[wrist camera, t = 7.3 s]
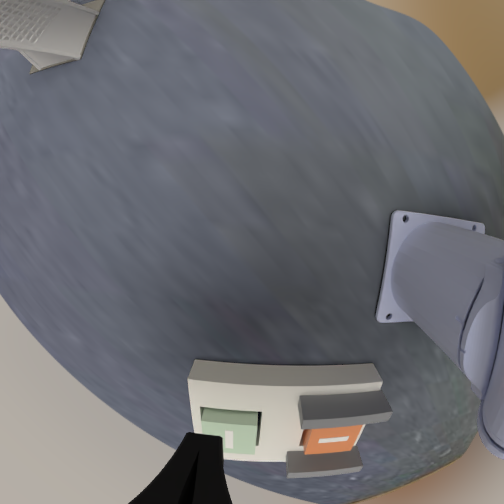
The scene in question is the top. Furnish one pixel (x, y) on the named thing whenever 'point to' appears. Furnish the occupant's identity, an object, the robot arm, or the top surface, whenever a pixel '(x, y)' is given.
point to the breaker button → (329, 439)
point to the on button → (232, 428)
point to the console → (292, 408)
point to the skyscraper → (47, 29)
